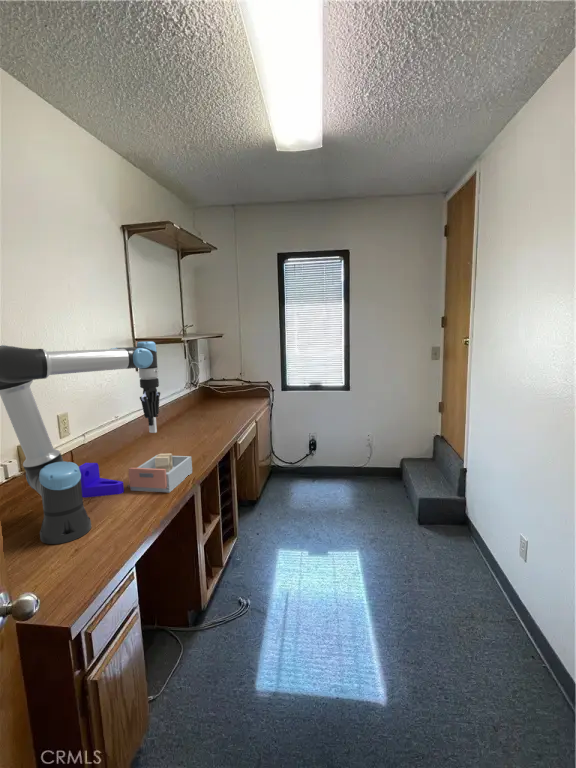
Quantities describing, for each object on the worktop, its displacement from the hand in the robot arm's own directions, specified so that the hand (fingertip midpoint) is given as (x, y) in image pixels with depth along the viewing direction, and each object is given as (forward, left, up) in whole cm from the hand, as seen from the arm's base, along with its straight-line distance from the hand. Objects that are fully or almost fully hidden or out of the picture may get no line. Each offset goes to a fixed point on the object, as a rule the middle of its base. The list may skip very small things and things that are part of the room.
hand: (153, 432), depth 166 cm
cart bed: (+5, 0, -24) cm, 25 cm away
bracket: (-9, +20, -25) cm, 33 cm away
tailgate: (-8, 0, -18) cm, 20 cm away
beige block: (+11, +2, -21) cm, 24 cm away
